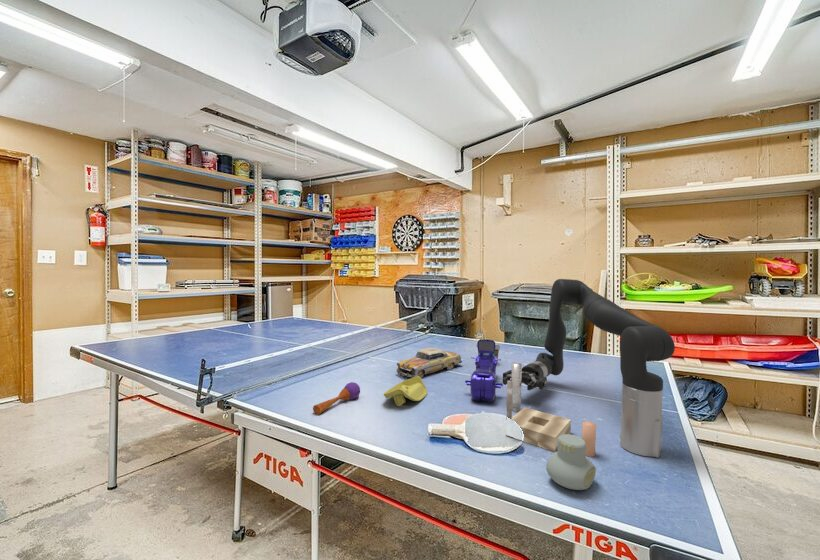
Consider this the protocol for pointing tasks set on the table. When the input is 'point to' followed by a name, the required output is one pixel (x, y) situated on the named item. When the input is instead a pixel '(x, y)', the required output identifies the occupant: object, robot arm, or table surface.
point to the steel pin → (516, 386)
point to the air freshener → (571, 464)
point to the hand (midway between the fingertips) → (516, 384)
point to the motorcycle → (484, 373)
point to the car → (428, 362)
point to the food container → (495, 351)
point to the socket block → (538, 425)
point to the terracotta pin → (589, 437)
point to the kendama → (339, 397)
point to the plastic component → (407, 390)
